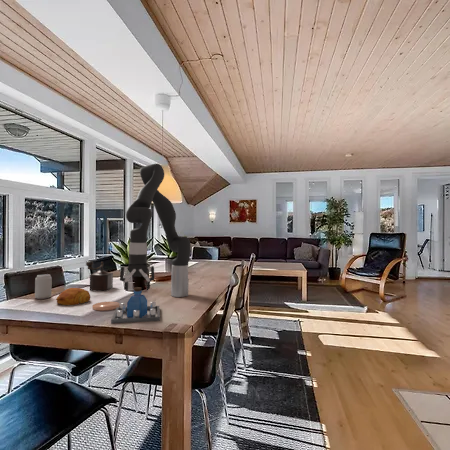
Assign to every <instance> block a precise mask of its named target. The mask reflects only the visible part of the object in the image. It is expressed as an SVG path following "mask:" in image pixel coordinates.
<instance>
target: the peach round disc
mask: <svg viewBox="0 0 450 450" xmlns="http://www.w3.org/2000/svg"><path fill="white" fill-rule="evenodd" d="M117 307H120V302H118V301H101V302H95V303H94V304H92V310H94V311H99V312H101V311H102V312H105V311H113V310H114V311H115V310H116V308H117Z"/></svg>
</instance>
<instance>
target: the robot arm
mask: <svg viewBox="0 0 450 450" xmlns="http://www.w3.org/2000/svg"><path fill="white" fill-rule="evenodd" d="M139 174H140V177H141V178H140V179H141V180H142V182H143V184H144V185H143V186H142V187H141V188H140V190H139V191H138V193H137V196H136V199H135V200H134V201H133V202H132V203H131V204H130V206H129V207H128V208H127V210H126V212H125V213H126V214H125V218H126V220H127V222H128V223H129V224H141V226H139V227H137V228H132V229H131V230H130V233H129V247H128V248H129V249H128V266H124V265H123V266H121V267H120V276H119V281H121V282H124V290H125V292H128V291H129V280H130V278H131V277H134V278H135V277H139V278H141V277H143V278H144V279H145V280H146V291H149V290H150V288H151V282H152V281H154V280H155V266H154V265H151V266H148V265H147V264H148V242H147V240H148V230H149V227H150V223H151V220H152V214H153V213H152V211H151V209H150V208H151V207H152V204H153V207H154V209H155V211H156V214H157V216H158V218H159V220H160V222H161V225H162V228H163V231H164V233H165V237H166V240H167V244H168V247H169V249H170V250H171V252H173V253H177V256H176V257H174V259H172V260H171V281H170V282H171V283H170V284H171V286H170V287H171V288H170V289H171V290H170V294H171V295H170V296H171V297H174V298H184V297H189V280H190V279H189V261H190V258H191V247H192V245H191V241H190V239H189V237H188V236H180V235H178V232H177V230H176V219H177V214H176V211H175V207H174V205H173V203H172V201H170V199H169V198H167V197H166V196H165V195H164V194H162V193H161V192H160V191H159V190H158V189H159V188H160V187H161V186H160V185H161V184H162V182H163V180H164V178H165V170H164V168H163V166H162V165H161V164H160V163H153V164H149V165H144V166H142V167H140V170H139ZM148 270H149V272H150V273H151V275H150V277H149V276H148V274H147V273H146V272H147V271H148ZM126 271H128V273H129V274H128V275H127V276H126V277H124V276H125V272H126Z"/></svg>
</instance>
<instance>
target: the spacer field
mask: <svg viewBox="0 0 450 450" xmlns="http://www.w3.org/2000/svg"><path fill="white" fill-rule="evenodd" d="M119 303H120V302H119ZM139 311H140V310H134V311H133V318H131V317H124V314H125V313H127V303H126V302H121V303H120V307H117V308H116V309H114V313H113V315H112V317H111V318H110V319H111V320H110V323H111V324H121V323H122V324H123V323H125V324H126V323H137V322H138V323H142V322H143V323H145V322H146V323H147V322H160V321H161V311H160V305H156V301H150V302H149V305H147V311H149V316H143V317H139ZM156 313H157V316H156Z"/></svg>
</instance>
